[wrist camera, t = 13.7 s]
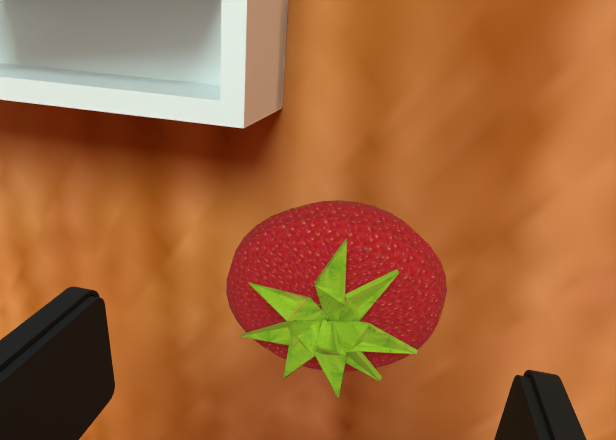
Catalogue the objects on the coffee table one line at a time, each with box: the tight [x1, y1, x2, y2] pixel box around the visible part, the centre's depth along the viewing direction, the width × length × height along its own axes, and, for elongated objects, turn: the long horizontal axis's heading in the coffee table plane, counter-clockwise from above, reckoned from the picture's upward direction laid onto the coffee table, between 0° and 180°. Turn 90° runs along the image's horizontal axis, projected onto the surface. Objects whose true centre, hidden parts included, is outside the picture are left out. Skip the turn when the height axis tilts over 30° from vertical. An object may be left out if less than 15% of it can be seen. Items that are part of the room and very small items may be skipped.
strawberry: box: [227, 201, 447, 398], centre depth 16 cm, size 6×8×10 cm
